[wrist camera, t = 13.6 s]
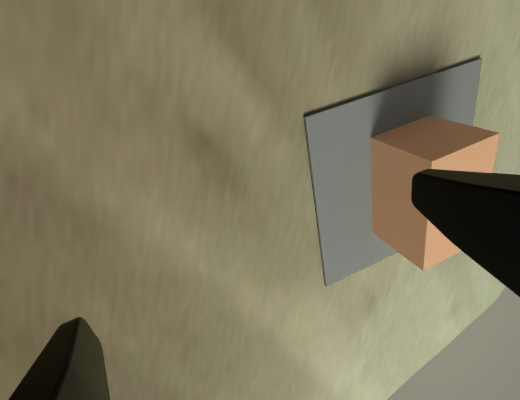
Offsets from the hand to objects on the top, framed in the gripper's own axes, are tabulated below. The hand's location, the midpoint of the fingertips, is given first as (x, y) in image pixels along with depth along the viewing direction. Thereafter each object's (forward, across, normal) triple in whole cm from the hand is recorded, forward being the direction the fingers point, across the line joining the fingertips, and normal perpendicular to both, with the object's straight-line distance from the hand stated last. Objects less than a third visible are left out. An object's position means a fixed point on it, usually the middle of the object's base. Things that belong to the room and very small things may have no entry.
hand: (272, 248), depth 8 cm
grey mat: (+11, -14, +8) cm, 19 cm away
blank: (+11, -14, +8) cm, 19 cm away
